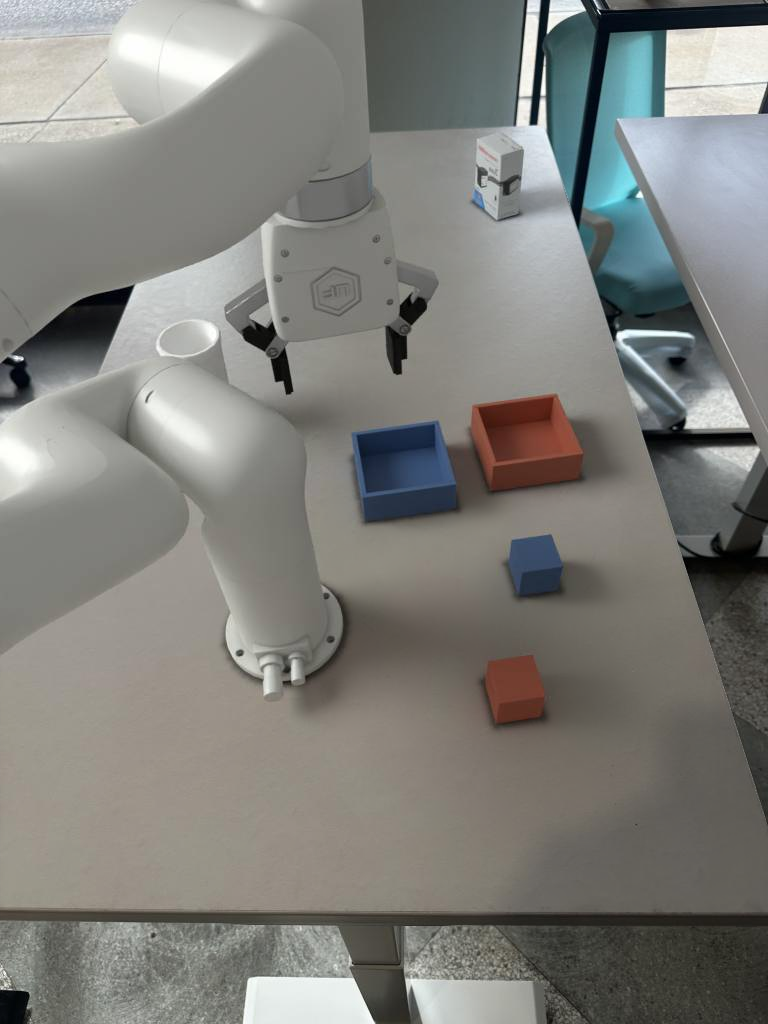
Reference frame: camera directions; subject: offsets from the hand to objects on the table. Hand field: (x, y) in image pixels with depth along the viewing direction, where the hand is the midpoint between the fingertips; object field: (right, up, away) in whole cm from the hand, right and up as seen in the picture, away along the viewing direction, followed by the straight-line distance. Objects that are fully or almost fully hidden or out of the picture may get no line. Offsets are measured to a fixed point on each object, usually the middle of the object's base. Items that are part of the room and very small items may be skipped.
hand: (341, 375), depth 64 cm
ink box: (+25, +44, +71) cm, 87 cm away
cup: (-20, 0, +37) cm, 42 cm away
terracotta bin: (+22, -5, +30) cm, 37 cm away
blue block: (+21, -19, +17) cm, 33 cm away
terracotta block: (+17, -31, +8) cm, 36 cm away
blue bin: (+6, -8, +28) cm, 30 cm away
